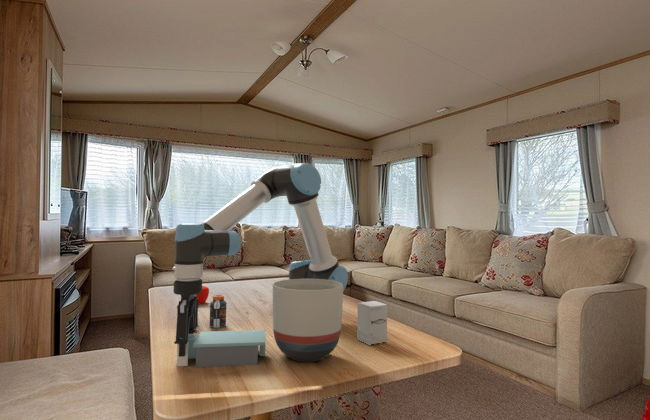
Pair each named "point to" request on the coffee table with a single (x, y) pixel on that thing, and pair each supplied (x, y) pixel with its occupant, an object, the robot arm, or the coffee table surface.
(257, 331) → the lid
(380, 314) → the supplement box
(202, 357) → the tub
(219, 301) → the pill bottle
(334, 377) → the coffee table surface
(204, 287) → the apple
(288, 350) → the planter
